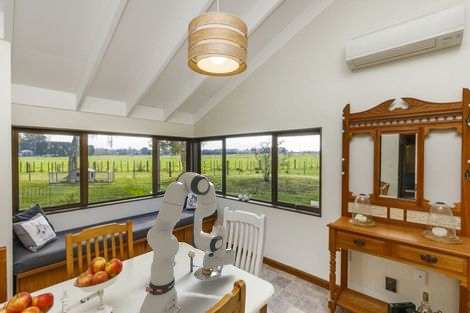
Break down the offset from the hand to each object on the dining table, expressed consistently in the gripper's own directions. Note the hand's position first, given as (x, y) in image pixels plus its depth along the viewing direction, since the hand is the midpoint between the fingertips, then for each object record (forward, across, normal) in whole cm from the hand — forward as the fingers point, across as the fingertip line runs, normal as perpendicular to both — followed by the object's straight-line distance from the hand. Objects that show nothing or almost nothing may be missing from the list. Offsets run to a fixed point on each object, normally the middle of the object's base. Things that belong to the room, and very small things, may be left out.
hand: (219, 272), depth 144 cm
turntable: (+2, +5, -5) cm, 8 cm away
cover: (+1, +6, -4) cm, 8 cm away
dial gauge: (+3, +14, -8) cm, 17 cm away
